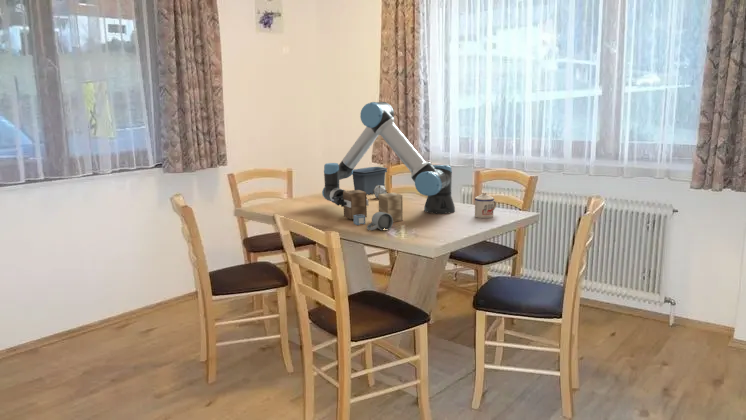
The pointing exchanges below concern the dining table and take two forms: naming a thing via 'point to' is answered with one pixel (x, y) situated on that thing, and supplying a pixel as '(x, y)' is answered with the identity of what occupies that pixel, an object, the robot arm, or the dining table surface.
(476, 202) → the teacup with lid
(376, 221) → the ceramic mug
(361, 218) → the letter cube
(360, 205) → the walnut cover
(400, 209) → the oak cover
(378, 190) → the grey rounded piece
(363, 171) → the storage bin
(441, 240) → the dining table surface
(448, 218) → the dining table surface
